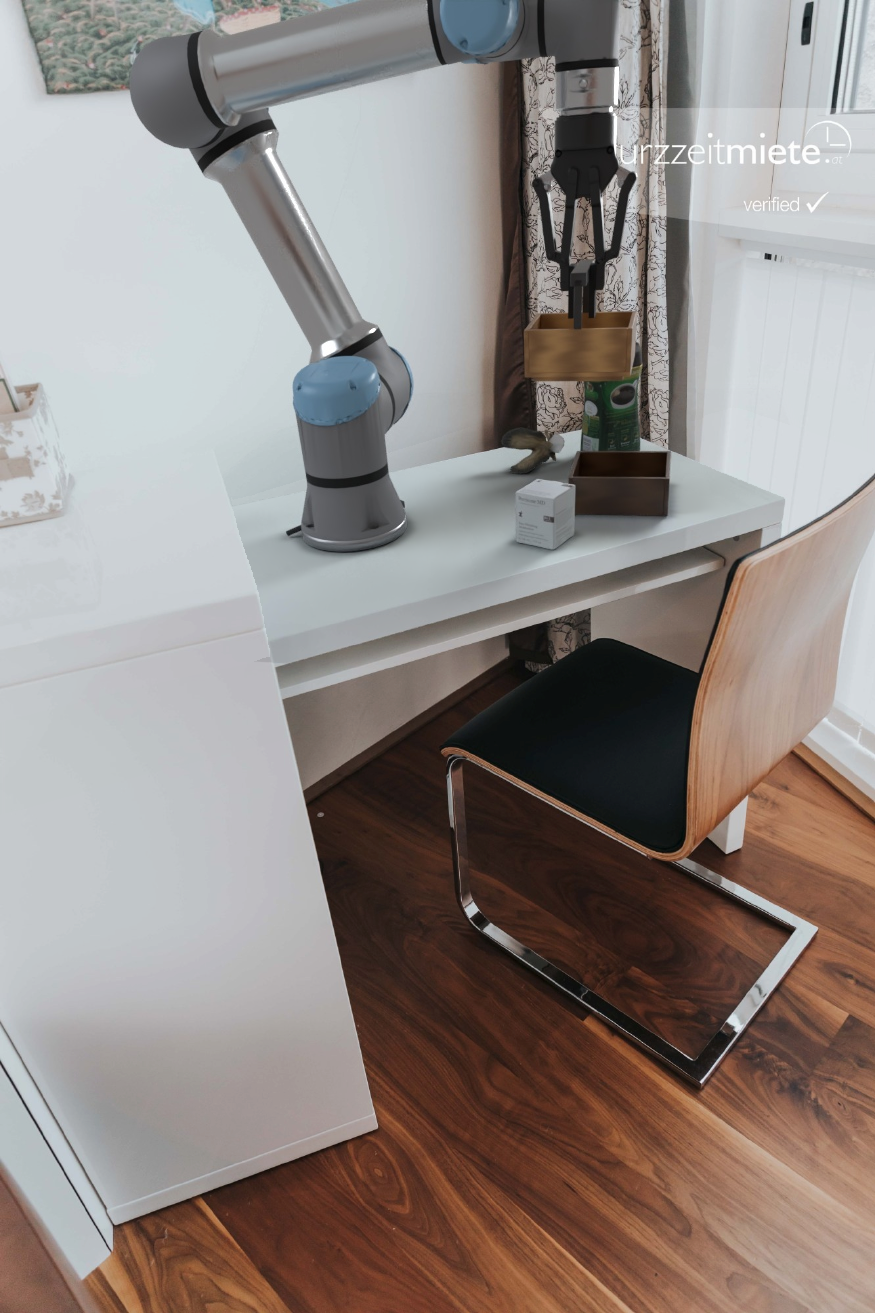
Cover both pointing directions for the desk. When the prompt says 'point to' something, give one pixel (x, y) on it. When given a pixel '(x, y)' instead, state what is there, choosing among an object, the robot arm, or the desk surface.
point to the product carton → (545, 513)
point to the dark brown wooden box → (621, 482)
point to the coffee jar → (612, 412)
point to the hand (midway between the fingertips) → (581, 316)
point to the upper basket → (580, 340)
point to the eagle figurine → (532, 447)
